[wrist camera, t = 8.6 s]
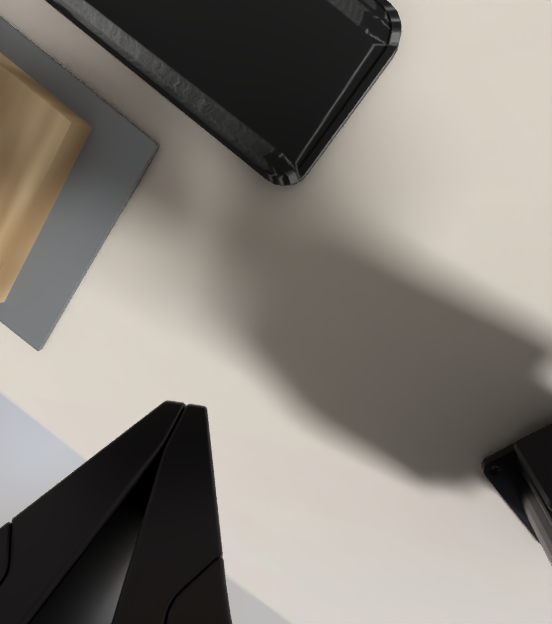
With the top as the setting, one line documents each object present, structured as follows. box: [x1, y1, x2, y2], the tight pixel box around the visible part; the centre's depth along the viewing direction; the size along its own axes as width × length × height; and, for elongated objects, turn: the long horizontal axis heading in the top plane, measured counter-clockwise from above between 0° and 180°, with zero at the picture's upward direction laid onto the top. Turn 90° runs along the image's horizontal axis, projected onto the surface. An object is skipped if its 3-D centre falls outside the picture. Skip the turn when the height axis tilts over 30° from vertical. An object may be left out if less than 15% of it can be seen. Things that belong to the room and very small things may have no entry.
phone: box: [46, 0, 401, 186], centre depth 17 cm, size 8×1×15 cm
